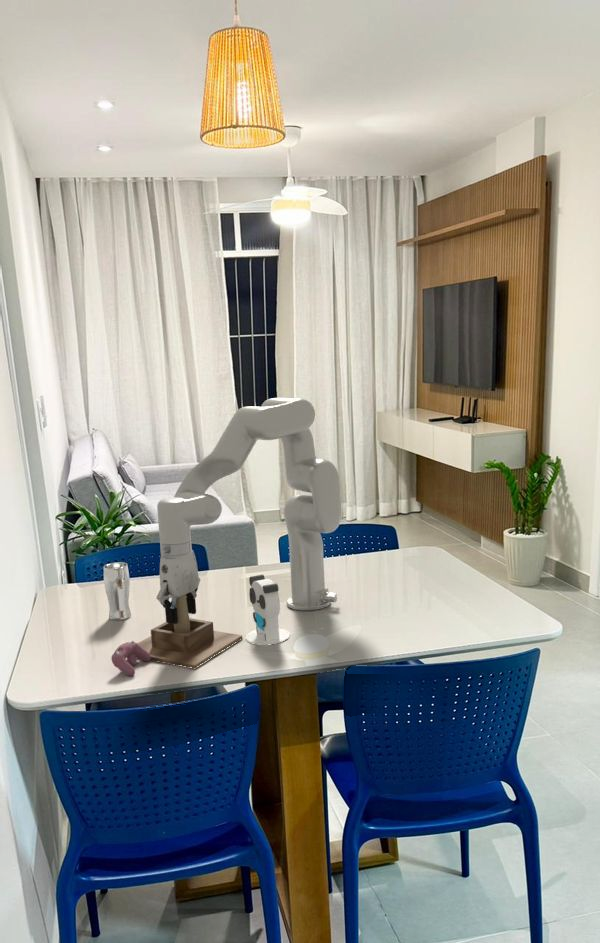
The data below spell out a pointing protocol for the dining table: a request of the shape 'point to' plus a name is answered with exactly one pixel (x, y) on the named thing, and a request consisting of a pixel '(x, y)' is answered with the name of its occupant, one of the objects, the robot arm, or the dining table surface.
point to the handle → (182, 615)
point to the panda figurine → (265, 612)
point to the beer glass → (117, 590)
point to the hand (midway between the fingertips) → (181, 617)
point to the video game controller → (129, 657)
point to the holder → (187, 643)
